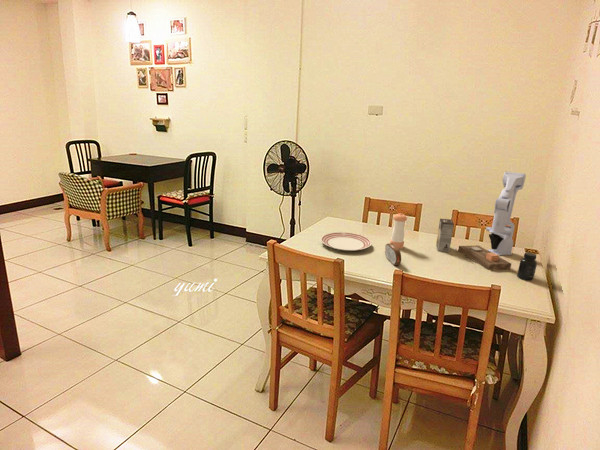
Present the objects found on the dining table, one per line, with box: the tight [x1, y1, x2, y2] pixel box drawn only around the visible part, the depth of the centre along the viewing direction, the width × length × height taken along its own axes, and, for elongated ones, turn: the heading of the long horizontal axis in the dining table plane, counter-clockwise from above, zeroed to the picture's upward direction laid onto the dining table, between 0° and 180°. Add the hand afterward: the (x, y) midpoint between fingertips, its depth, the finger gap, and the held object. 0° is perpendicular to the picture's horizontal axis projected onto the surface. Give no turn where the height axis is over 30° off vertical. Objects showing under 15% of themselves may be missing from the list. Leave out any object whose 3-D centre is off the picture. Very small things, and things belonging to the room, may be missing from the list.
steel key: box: [471, 247, 482, 252], centre depth 210 cm, size 4×4×3 cm
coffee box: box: [435, 218, 455, 253], centre depth 215 cm, size 9×6×16 cm
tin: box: [384, 242, 402, 266], centre depth 194 cm, size 15×3×8 cm, turn 9°
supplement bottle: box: [516, 251, 538, 282], centre depth 182 cm, size 7×7×12 cm
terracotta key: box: [486, 252, 500, 261], centre depth 197 cm, size 4×4×3 cm
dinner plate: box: [320, 231, 372, 252], centre depth 215 cm, size 28×27×3 cm
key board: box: [457, 245, 512, 271], centre depth 204 cm, size 12×26×3 cm, turn 11°
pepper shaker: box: [389, 212, 408, 250], centre depth 215 cm, size 7×7×19 cm
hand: (493, 248), depth 196 cm, fingers closed
